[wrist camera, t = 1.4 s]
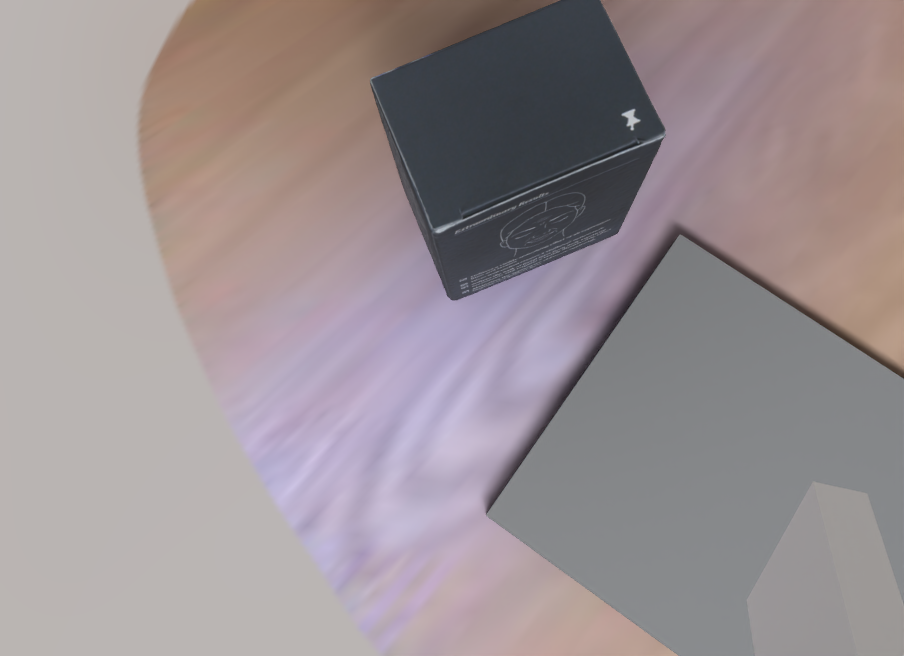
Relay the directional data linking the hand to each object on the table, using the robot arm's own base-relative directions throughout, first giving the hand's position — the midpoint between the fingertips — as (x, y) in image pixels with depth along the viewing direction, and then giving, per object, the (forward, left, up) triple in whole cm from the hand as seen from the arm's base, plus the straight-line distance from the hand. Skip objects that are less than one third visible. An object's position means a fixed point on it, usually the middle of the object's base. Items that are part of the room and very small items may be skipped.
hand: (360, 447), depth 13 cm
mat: (-10, -6, -21) cm, 25 cm away
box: (+4, -10, -22) cm, 24 cm away
